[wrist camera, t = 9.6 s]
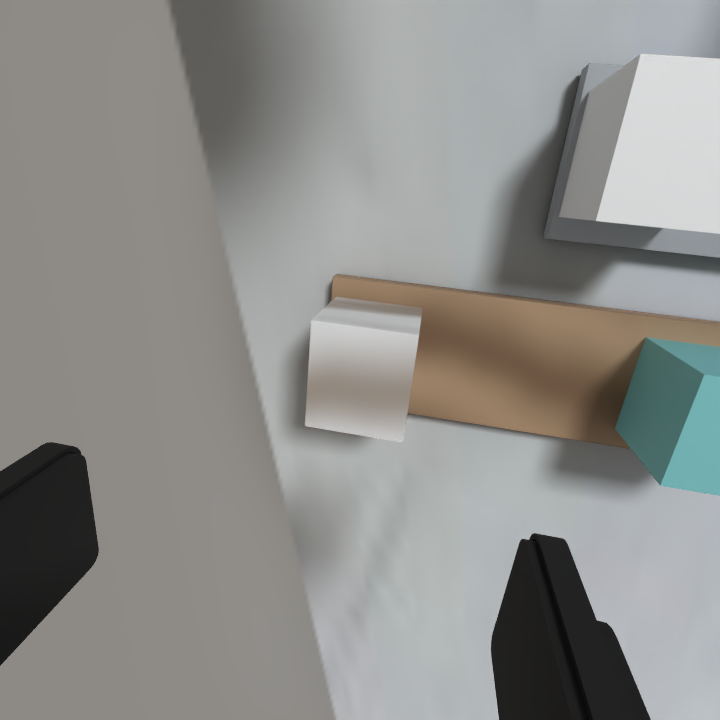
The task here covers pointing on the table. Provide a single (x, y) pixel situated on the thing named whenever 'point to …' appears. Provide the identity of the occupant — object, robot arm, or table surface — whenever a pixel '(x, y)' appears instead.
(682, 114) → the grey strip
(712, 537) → the table surface
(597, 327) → the walnut strip
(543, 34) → the table surface
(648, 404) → the teal cube
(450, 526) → the table surface
